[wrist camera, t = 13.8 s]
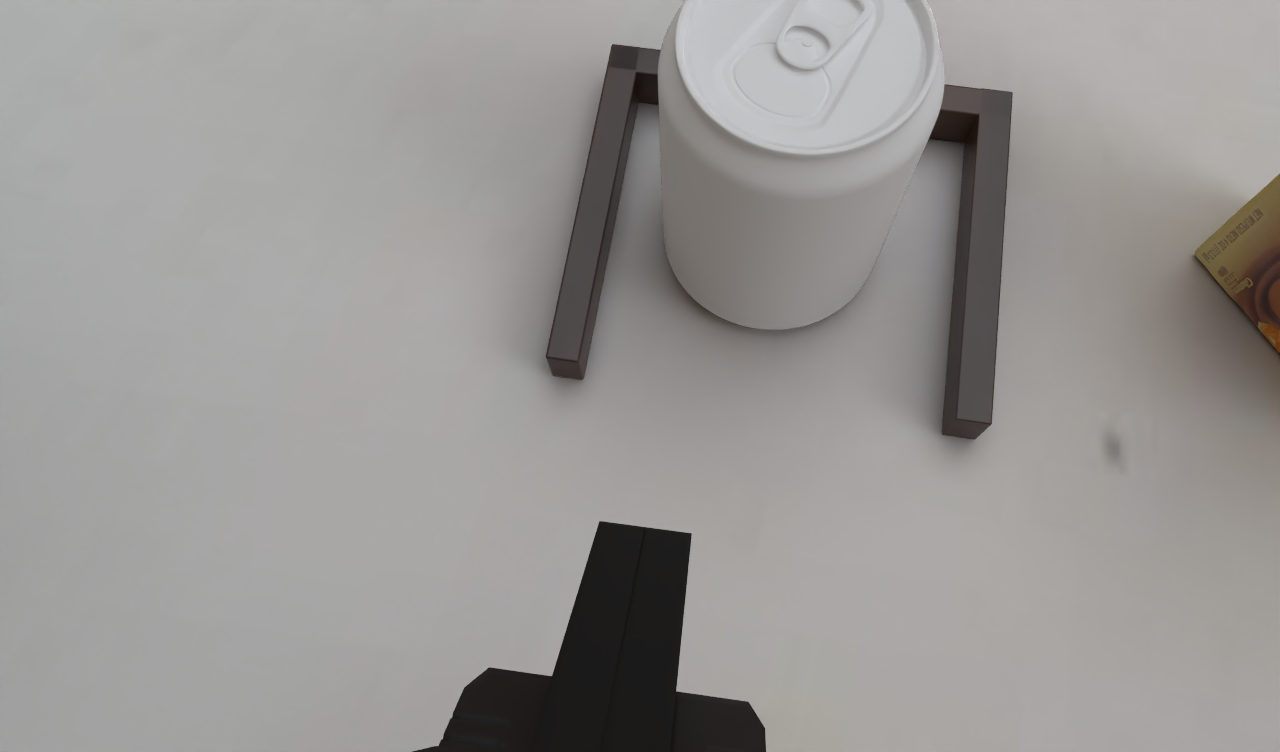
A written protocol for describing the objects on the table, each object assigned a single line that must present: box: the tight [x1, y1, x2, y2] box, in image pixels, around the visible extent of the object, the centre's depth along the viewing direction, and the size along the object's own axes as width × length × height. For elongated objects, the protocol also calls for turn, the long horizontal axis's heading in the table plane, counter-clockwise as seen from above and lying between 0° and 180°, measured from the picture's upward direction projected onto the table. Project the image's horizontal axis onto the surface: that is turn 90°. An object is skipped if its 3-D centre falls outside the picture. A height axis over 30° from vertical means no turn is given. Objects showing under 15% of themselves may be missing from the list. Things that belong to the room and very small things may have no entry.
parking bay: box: [546, 44, 1013, 439], centre depth 38 cm, size 15×13×2 cm
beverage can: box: [658, 0, 945, 330], centre depth 33 cm, size 8×8×12 cm
